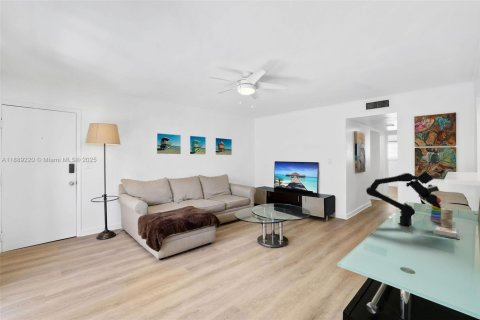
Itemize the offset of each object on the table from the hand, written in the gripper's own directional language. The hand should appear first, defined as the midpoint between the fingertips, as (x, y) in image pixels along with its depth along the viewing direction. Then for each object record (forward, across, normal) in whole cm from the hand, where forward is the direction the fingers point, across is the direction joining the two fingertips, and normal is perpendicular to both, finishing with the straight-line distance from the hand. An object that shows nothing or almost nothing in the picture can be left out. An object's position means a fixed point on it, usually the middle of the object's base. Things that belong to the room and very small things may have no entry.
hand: (437, 206), depth 147 cm
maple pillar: (+14, -1, +6) cm, 15 cm away
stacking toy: (+15, +20, +6) cm, 26 cm away
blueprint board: (+13, -7, +8) cm, 17 cm away
